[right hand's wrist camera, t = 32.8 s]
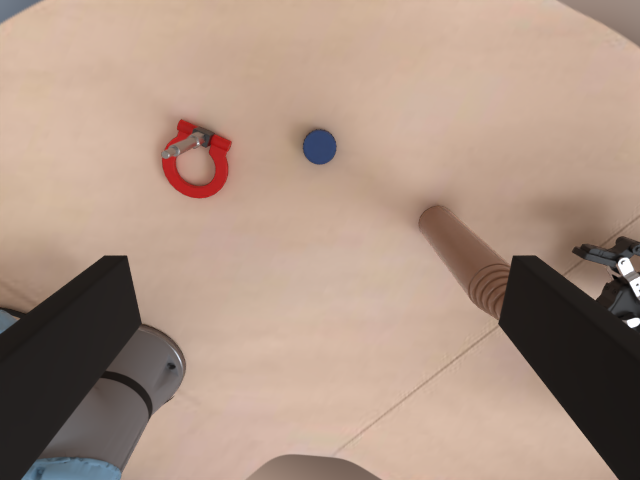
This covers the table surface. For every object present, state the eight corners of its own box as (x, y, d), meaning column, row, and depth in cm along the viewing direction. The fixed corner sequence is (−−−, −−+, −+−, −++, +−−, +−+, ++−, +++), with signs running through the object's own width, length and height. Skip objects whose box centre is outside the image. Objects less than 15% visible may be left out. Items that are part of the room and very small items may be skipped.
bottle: (460, 223, 51) (569, 323, 29) (432, 245, 53) (516, 357, 30) (439, 198, 50) (537, 284, 28) (411, 221, 51) (483, 321, 29)
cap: (316, 122, 46) (316, 123, 45) (342, 143, 47) (343, 145, 46) (296, 148, 48) (296, 150, 46) (322, 168, 48) (322, 171, 47)
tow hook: (218, 205, 51) (239, 142, 47) (184, 244, 39) (209, 165, 35) (158, 180, 49) (176, 114, 46) (105, 213, 38) (123, 128, 34)
